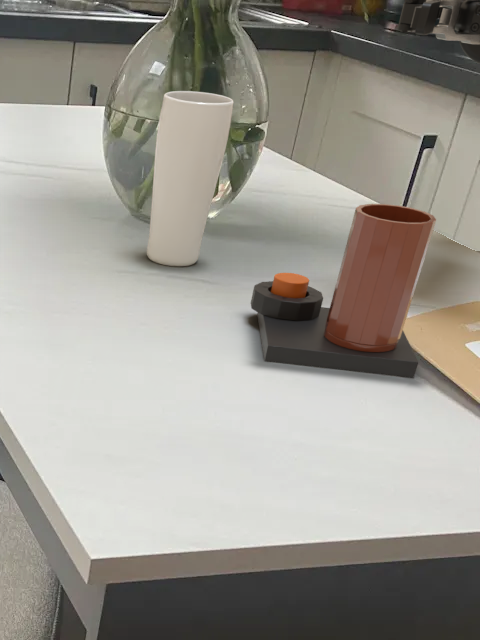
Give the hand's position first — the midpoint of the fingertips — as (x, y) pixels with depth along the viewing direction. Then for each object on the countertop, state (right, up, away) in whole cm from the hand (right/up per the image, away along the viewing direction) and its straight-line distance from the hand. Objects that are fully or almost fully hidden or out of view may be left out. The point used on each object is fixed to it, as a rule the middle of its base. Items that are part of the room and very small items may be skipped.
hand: (478, 24), depth 84 cm
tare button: (-12, -18, +10) cm, 24 cm away
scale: (-9, -23, +8) cm, 26 cm away
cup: (-7, -23, +6) cm, 25 cm away
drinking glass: (-19, -8, +26) cm, 34 cm away
